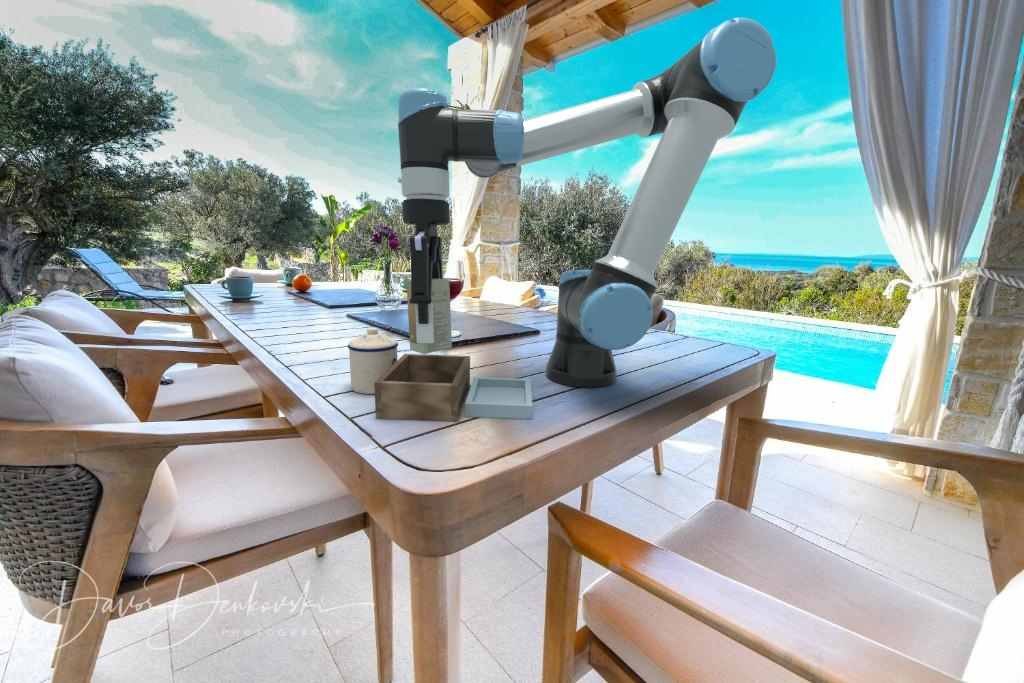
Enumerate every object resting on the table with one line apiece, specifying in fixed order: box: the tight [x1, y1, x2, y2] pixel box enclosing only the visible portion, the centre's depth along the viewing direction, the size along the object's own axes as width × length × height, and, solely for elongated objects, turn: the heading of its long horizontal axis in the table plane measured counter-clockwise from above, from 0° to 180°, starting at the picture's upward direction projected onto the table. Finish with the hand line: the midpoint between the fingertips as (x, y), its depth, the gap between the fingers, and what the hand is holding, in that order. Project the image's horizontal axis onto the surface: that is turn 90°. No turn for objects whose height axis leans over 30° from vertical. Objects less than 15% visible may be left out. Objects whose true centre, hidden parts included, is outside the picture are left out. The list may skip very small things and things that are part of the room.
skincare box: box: [405, 278, 453, 354], centre depth 71 cm, size 6×4×12 cm
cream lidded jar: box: [347, 327, 399, 395], centre depth 80 cm, size 12×9×12 cm
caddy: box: [374, 353, 471, 422], centre depth 74 cm, size 13×18×6 cm
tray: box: [464, 376, 533, 420], centre depth 75 cm, size 11×14×2 cm
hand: (430, 337), depth 72 cm, fingers closed on skincare box, 7 cm apart
